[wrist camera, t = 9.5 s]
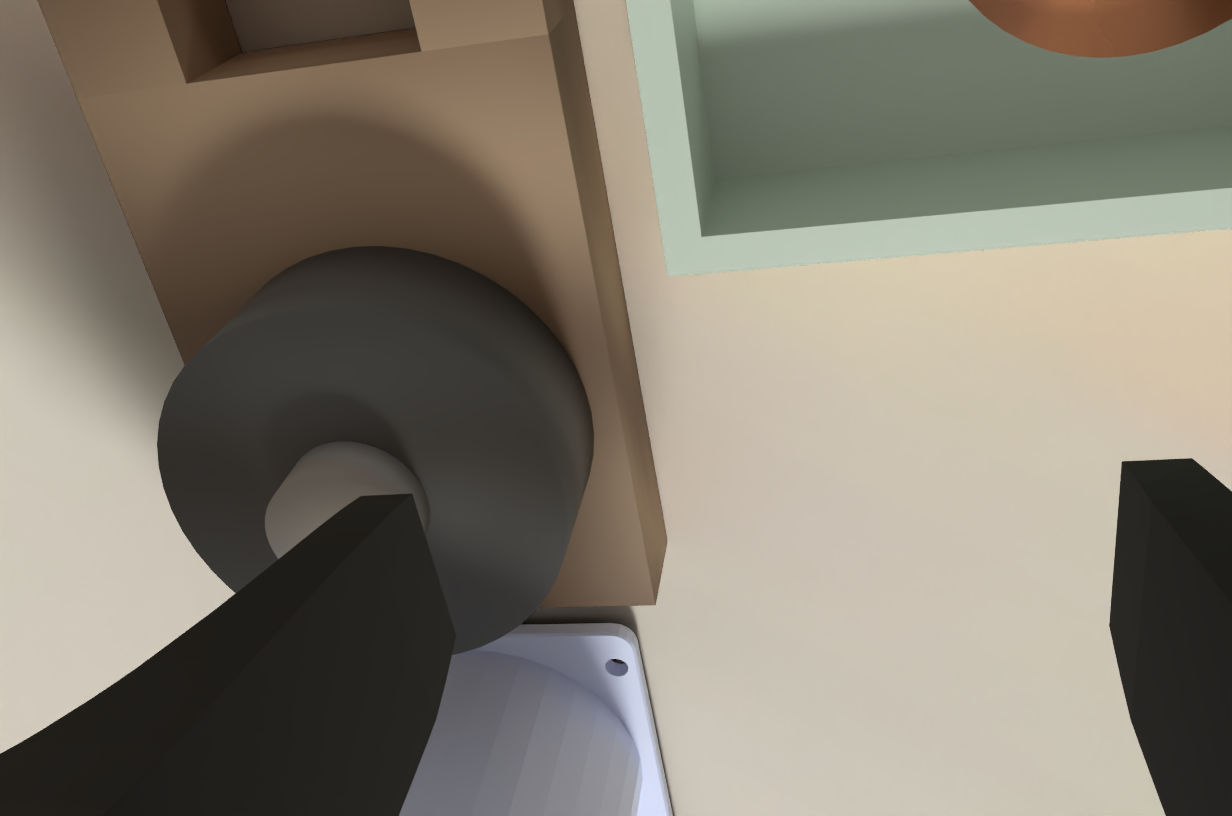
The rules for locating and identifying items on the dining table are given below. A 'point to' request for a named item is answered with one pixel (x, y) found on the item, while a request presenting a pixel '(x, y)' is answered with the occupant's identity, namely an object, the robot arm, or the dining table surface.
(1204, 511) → the robot arm
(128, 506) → the dining table surface
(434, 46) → the tensioner board
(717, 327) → the dining table surface
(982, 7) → the lock pin
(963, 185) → the tray
